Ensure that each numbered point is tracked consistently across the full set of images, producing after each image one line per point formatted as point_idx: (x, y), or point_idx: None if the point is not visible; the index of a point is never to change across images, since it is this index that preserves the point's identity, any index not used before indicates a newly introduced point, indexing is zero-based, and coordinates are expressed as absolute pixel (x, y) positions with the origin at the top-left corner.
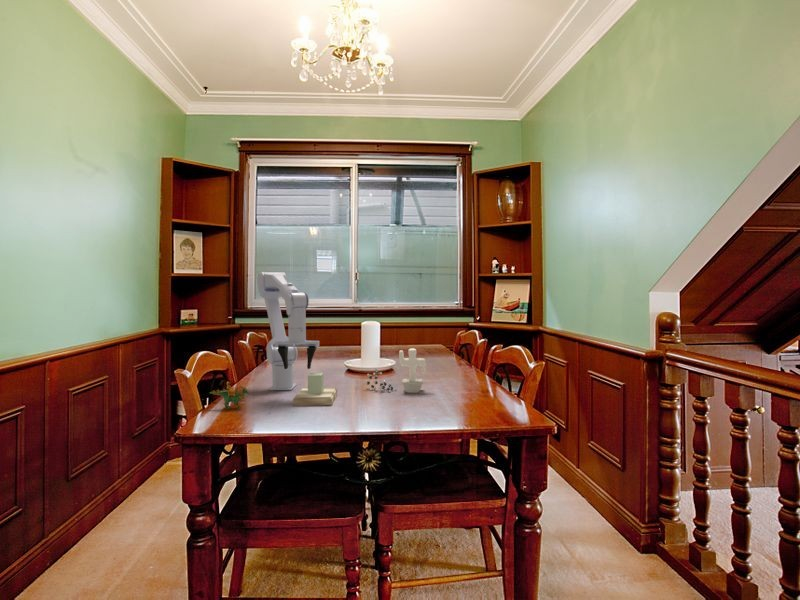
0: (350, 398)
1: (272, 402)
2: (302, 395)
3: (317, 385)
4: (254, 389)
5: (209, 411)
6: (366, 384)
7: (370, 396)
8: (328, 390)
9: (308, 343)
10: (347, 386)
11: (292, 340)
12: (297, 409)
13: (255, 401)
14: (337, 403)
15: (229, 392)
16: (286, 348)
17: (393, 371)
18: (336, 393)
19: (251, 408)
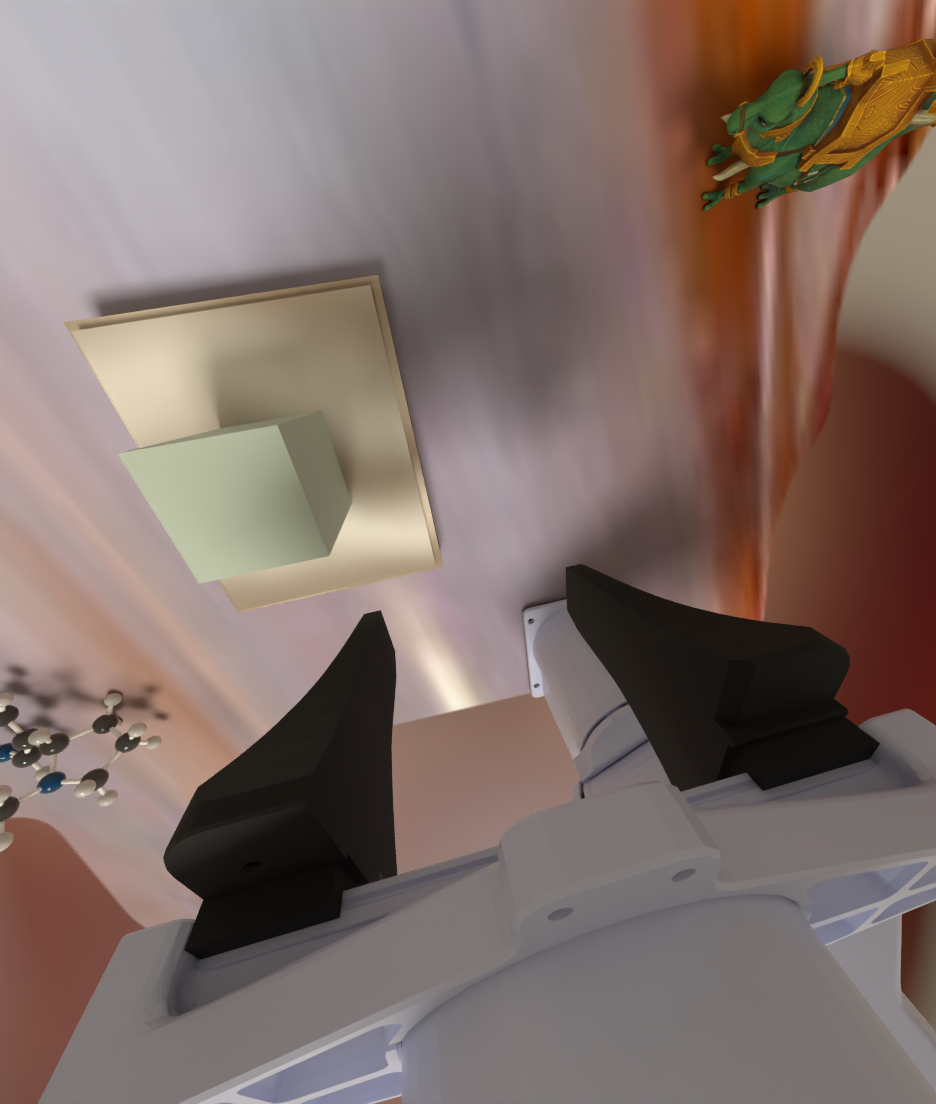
0: (110, 531)
1: (541, 362)
2: (339, 360)
3: (220, 430)
4: (685, 592)
5: (880, 46)
6: (157, 738)
7: (16, 595)
8: None
9: (271, 994)
10: None
11: (758, 990)
12: (295, 165)
13: (640, 372)
14: (104, 395)
15: (903, 49)
16: (707, 763)
17: None
18: None
19: (629, 173)
